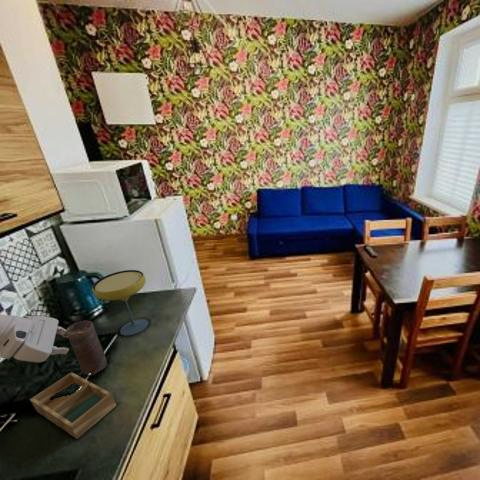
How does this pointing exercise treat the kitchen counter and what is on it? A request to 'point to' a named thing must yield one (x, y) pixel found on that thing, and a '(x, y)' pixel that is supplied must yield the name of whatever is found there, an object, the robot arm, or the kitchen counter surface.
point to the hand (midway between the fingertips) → (69, 342)
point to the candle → (86, 347)
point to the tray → (74, 405)
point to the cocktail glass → (122, 294)
